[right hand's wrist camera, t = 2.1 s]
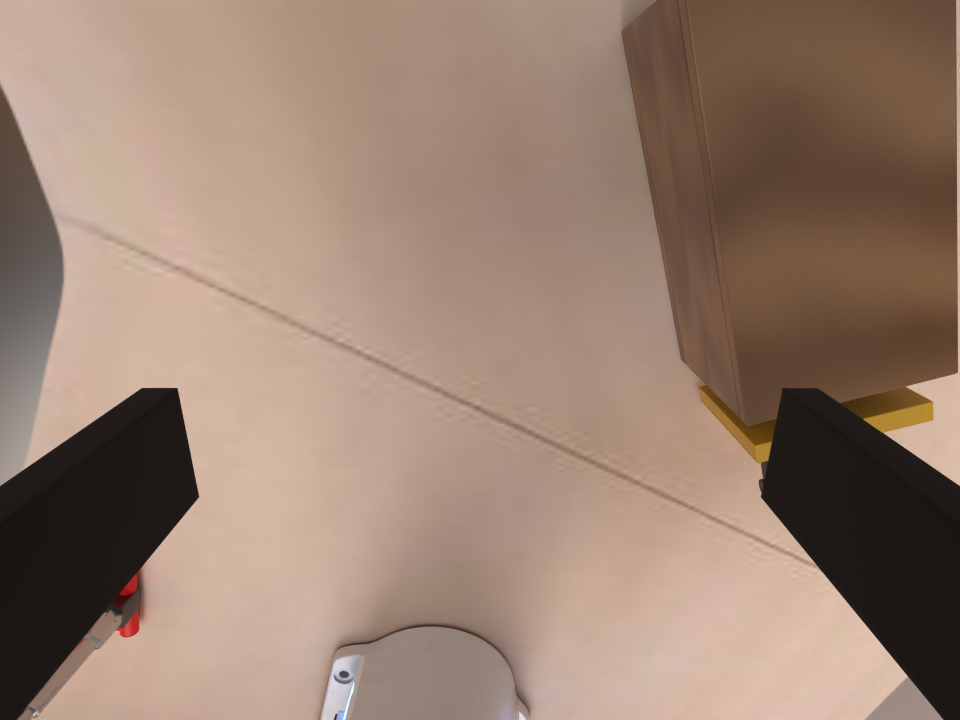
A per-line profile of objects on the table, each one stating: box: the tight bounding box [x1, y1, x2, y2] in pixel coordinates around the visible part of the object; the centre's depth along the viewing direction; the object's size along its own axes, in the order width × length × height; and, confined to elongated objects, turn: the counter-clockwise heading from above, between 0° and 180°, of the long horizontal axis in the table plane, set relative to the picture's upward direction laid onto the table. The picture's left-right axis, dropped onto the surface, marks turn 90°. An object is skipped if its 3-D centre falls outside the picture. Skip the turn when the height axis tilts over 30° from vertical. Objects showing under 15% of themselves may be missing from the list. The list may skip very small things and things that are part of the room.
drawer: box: [699, 385, 933, 492], centre depth 33 cm, size 25×10×9 cm, turn 16°
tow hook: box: [17, 573, 140, 720], centre depth 41 cm, size 8×13×9 cm
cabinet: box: [622, 0, 958, 426], centre depth 31 cm, size 21×11×11 cm, turn 16°
